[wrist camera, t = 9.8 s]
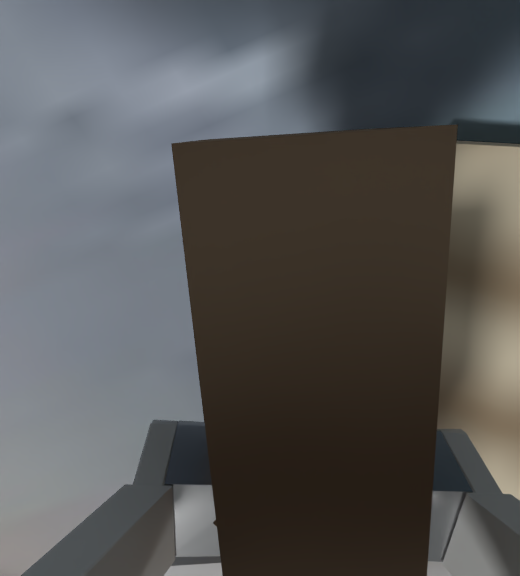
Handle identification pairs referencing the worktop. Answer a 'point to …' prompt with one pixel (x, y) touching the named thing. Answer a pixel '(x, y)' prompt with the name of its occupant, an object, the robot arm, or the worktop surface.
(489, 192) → the board
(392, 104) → the worktop surface
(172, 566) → the paddle
